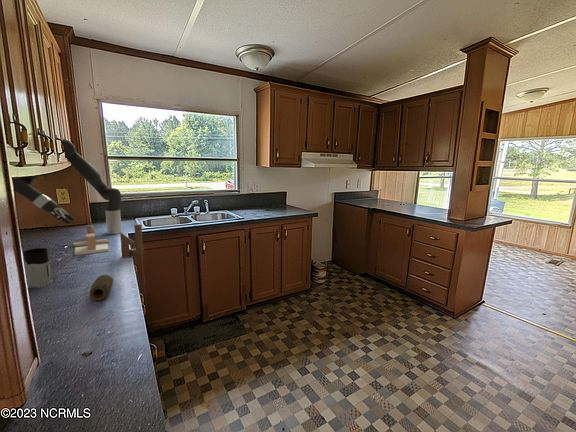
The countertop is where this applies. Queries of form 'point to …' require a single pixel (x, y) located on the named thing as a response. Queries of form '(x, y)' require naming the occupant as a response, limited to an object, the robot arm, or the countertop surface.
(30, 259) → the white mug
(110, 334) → the countertop surface
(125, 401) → the countertop surface
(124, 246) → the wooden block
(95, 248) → the stand
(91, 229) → the bar
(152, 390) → the countertop surface
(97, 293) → the olive brown hollow cylinder
